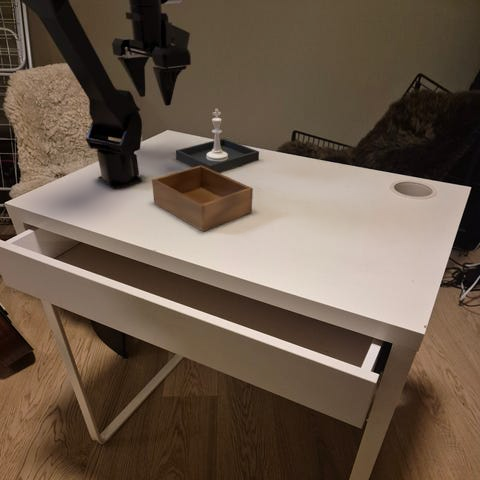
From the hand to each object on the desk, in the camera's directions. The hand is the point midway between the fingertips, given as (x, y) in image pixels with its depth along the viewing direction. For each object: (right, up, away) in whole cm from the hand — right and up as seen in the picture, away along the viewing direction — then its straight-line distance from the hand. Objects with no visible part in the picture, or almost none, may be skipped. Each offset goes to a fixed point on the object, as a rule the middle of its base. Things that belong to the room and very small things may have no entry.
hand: (154, 100), depth 85 cm
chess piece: (+12, -9, +8) cm, 17 cm away
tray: (+12, -9, +9) cm, 18 cm away
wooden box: (+11, -25, -10) cm, 29 cm away
